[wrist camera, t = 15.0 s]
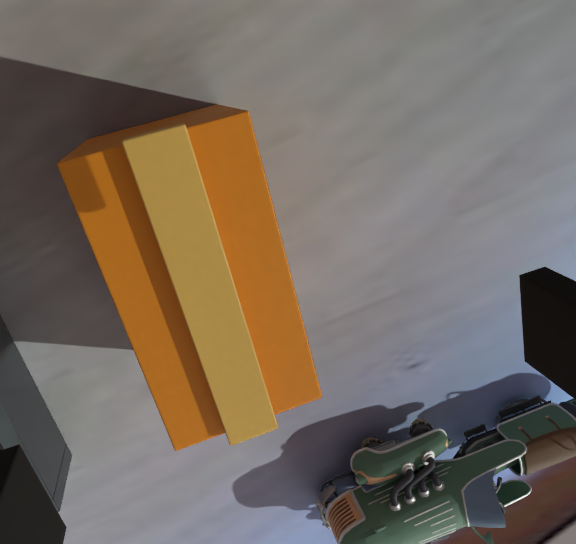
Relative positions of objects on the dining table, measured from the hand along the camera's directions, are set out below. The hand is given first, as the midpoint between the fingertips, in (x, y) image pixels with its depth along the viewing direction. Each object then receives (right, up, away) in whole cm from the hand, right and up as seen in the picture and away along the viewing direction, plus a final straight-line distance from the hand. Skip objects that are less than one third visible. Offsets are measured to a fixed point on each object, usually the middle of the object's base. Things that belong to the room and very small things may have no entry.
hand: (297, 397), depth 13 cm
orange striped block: (-6, +5, +18) cm, 20 cm away
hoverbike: (+13, -11, +29) cm, 34 cm away
